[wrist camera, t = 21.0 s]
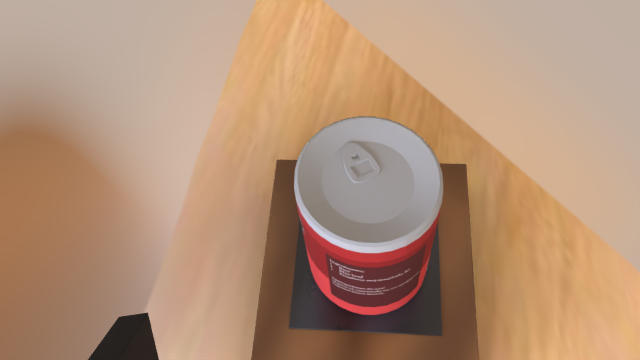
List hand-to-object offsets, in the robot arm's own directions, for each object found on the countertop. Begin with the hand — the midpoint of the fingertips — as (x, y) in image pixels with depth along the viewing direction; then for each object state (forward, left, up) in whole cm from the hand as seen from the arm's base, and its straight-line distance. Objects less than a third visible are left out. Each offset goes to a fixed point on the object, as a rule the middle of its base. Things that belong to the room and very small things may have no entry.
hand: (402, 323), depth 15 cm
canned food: (-1, +11, -22) cm, 24 cm away
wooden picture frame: (-1, +11, -25) cm, 28 cm away
